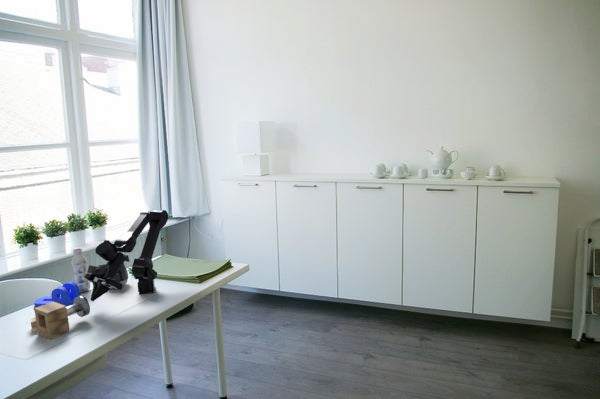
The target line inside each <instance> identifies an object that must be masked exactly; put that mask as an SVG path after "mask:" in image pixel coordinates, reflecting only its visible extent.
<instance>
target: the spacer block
mask: <svg viewBox="0 0 600 399" xmlns="http://www.w3.org/2000/svg"><path fill="white" fill-rule="evenodd" d="M30 326H31V332H32V333H35V332H38V329H37V323H36V317H32V318H30Z"/></svg>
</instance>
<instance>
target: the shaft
mask: <svg viewBox="0 0 600 399" xmlns="http://www.w3.org/2000/svg"><path fill="white" fill-rule="evenodd" d="M66 308H67V315H68V317H69V316H73V315H75V314H77V316H78V317H80V318H83V317H87V316H88V315H90V312H91V307H90V303H89V301H88V299H87V298H86V296H84V295H81V294H80V296H78V297H75V298H74V301H73V305H70V306H67V307H66Z"/></svg>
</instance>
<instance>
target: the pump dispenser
mask: <svg viewBox="0 0 600 399" xmlns="http://www.w3.org/2000/svg"><path fill="white" fill-rule="evenodd" d="M123 254H124V253H123ZM124 255H126V253H125V254H124ZM119 272H120V274H117V275H116V276H115V278H114V279H116V280H117V281H119V282H120V283H122V284H123V287H124V286H125V285H126V284H127V283H128V279H129V273H128V269H127V266H126V264H125V262H124V263H123V265H122V266H121V268H120V270H119ZM110 289H116V288H115V287H113V286H111V288H110Z"/></svg>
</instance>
